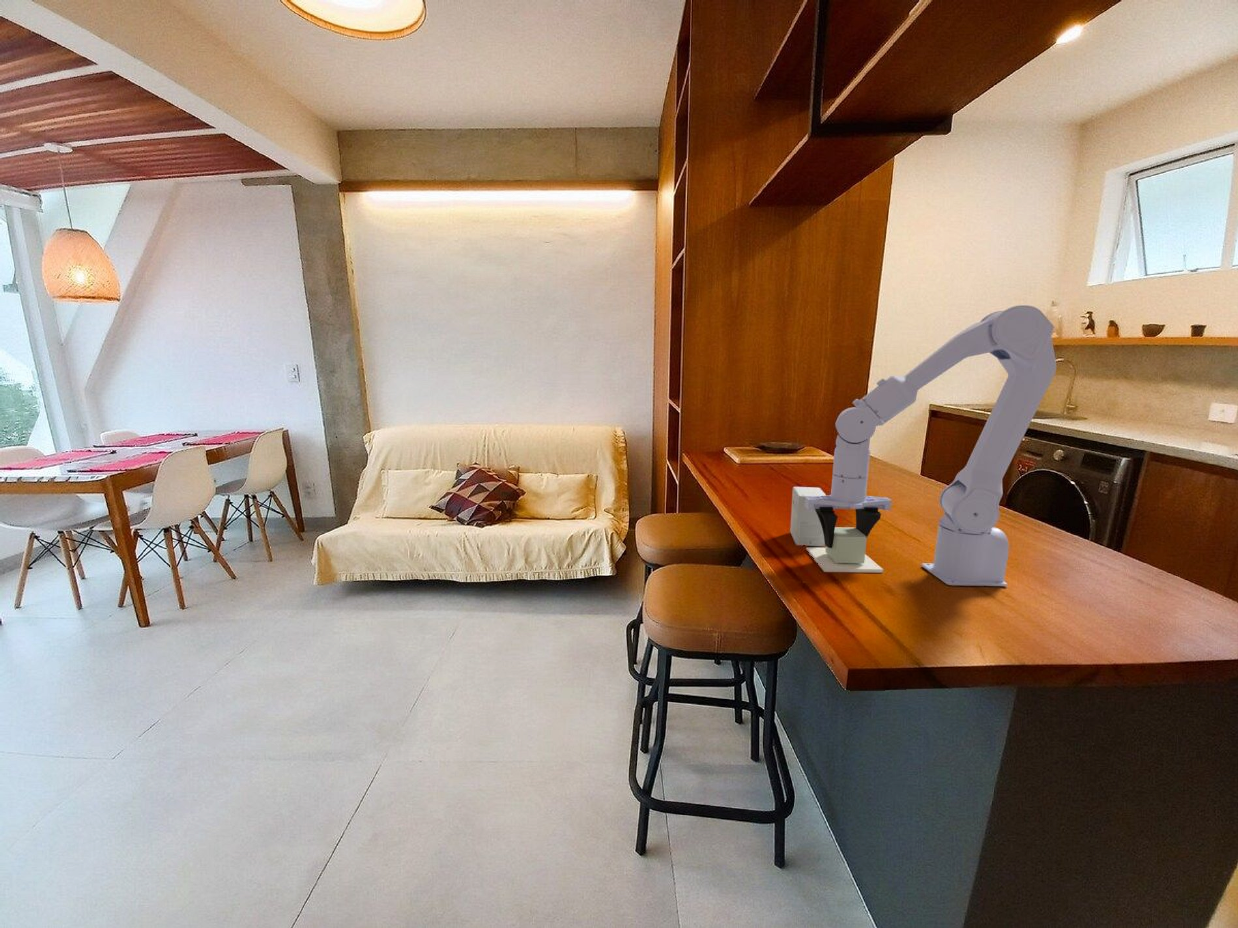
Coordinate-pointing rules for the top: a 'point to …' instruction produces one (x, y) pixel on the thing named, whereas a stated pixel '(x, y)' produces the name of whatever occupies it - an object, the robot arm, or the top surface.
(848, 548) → the cube
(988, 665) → the top surface
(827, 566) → the tile
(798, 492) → the small box
